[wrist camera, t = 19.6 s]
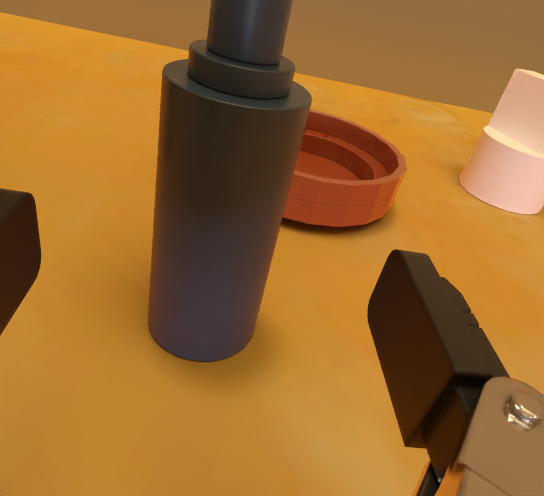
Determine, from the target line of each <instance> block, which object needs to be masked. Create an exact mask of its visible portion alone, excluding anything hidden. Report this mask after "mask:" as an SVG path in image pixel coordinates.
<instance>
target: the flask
mask: <svg viewBox="0 0 544 496" xmlns="http://www.w3.org/2000/svg"><path fill="white" fill-rule="evenodd" d="M292 1H293V0H211V8H210V18H209V27H208V36H207V40H198V41H194V42H192V43H191V44H190V47H189V58H188V59H185V60H178V61H173V62H170V63H168V64H167V65H165V66H164V68H163V71H162V88H161V105H160V122H159V139H158V156H157V173H156V191H155V208H154V225H153V242H152V259H151V277H150V294H149V311H148V325H149V329H150V332H151V334H152V336H153V337H154V339H155V340H156V341H157V342H158V344H159V345H161V346H162V347H163V348H164V349H166V350H167V351H168V352H170V353H172V354H174V355H176V356H179V357H181V358H185V359H188V360H194V361H215V360H221V359H224V358H227V357H230V356H232V355H234V354H236V353H238V352H239V351H240V350H242V349H243V348H244V347H245V346H246V345H247V344H248V342H249V341H250V340H251V337H252V335H253V332H254V328H255V324H256V320H257V316H258V312H259V308H260V304H261V300H262V296H263V292H264V288H265V284H266V280H267V276H268V272H269V268H270V265H271V261H272V257H273V253H274V249H275V245H276V241H277V237H278V233H279V229H280V225H281V221H282V217H283V213H284V209H285V205H286V201H287V197H288V193H289V189H290V185H291V181H292V177H293V173H294V169H295V165H296V161H297V157H298V153H299V149H300V145H301V141H302V137H303V133H304V129H305V125H306V122H307V118H308V114H309V110H310V106H311V102H312V97H311V95H310V93H309V92H308V91H307V90H306V89H305V88H304V87H302V86H301V85H299V84H298V83H296V82H294V81H293V76H294V72H295V65H294V64H293V62H291V61H290V60H289V59H287V58H285V57H283V56H282V51H283V46H284V41H285V36H286V31H287V26H288V21H289V16H290V11H291V6H292Z"/></svg>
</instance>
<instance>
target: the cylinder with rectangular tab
mask: <svg viewBox="0 0 544 496" xmlns="http://www.w3.org/2000/svg"><path fill="white" fill-rule="evenodd" d="M459 182H460V184H461V185H462V187H463V188H464V189H465V190H466V191H468V192H469V193H470V194H472V195H473V196H475V197H476V198H478V199H480V200H482V201H484V202H486V203H488V204H490V205H492V206H495V207H497V208H500V209H503V210H506V211H510V212H514V213H519V214H536V213H538V212H539V211H540V210H541V209H542V207H543V206H544V75H542V74H539V73H537V72H534V71H528V70H523V69H515V71H514V73H513V75H512V77H511V79H510V81H509V84H508V85H507V87H506V90H505V92H504V93H503V95H502V97H501V100H500V102H499V104H498V106H497V108H496V110H495V112H494V114H493V116H492V118H491V120H490V122H489V124H488V126H485V127H484V129H483V131H482V133H481V135H480V137H479V139H478V141H477V143H476V145H475V147H474V149H473V151H472V153H471V155H470V157H469V159H468V161H467V163H466V165H465V167H464V169H463V171H462V174H461V176H460V178H459Z"/></svg>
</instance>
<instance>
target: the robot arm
mask: <svg viewBox="0 0 544 496" xmlns="http://www.w3.org/2000/svg"><path fill="white" fill-rule="evenodd" d="M40 263H41V247H40V238H39V230H38V221H37V213H36V204H35V200H34V197H33V195H32V194H31V193H27V192H21V191H14V190H7V189H1V188H0V335H1V333H2V332H3V330H4V329H5V327H6V326H7V324H8V322H9V321H10V319H11V318H12V316H13V315H14V313H15V311H16V310H17V308H18V307H19V305H20V303H21V302H22V300H23V299H24V297H25V296H26V294H27V292H28V291H29V289H30V288H31V286H32V285H33V283H34V281H35V280H36V277H37V275H38V272H39V269H40ZM368 323H369V327H370V330H371V334H372V337H373V340H374V344H375V347H376V351H377V354H378V357H379V361H380V364H381V367H382V371H383V374H384V378H385V381H386V384H387V388H388V391H389V394H390V398H391V401H392V405H393V408H394V411H395V415H396V418H397V421H398V425H399V428H400V432H401V435H402V438H403V442H404V445H405V447H414V448H426V449H427V451H428V454H429V457H430V459H429V461H428V462H427V463H426V465H425V467H424V468H423V471H422V473H421V475H420V478H419V480H418V482H417V485H416V487H415V489H414V492H413V494H412V496H544V395H543V394H541V393H540V392H539V391H537V390H536V389H534V388H533V387H531V386H530V385H528V384H526V383H524V382H522V381H519V380H516V379H513V378H510V376H509V375H508V373H507V371H506V370H505V368H504V366H503V364H502V363H501V361H500V359H499V358H498V356H497V354H496V352H495V351H494V349H493V347H492V345H491V344H490V342H489V340H488V339H487V337H486V335H485V333H484V332H483V330H482V328H479V323H478V321H477V320H476V318H475V316H474V314H472V313H471V309H470V308H469V306H468V304H467V302H466V301H465V299H464V297H463V296H462V294H461V293H460V292H459V291H458V290H457V289H456V288H455V287H454V286H453V285H452V284H451V283H450V282H449V281H448V280H447V279H446V278H443V277H440V276H439V274H438V272H437V270H436V268H435V267H434V265H433V263H432V261H431V259H430V258H429V256H428V255H427V254H423V253H416V252H410V251H403V250H396V249H395V250H393V251H392V252H391V253H390V254H389V256H388V258H387V260H386V263H385V265H384V267H383V270H382V272H381V274H380V277H379V279H378V281H377V283H376V286H375V288H374V290H373V293H372V295H371V297H370V300H369V304H368Z"/></svg>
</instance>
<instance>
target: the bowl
mask: <svg viewBox="0 0 544 496" xmlns="http://www.w3.org/2000/svg"><path fill="white" fill-rule="evenodd" d="M406 169H407V168H406V163H405V158H404V156H403V155H402V154H401V153H400V152H399V150H398V149H397V148H396V147H395V146H394V145H393V144H391V143H390V142H388V141H387V140H385V139H384V138H383V137H381V136H380V135H378V134H376V133H374V132H372V131H370V130H368V129H366V128H364V127H362V126H360V125H358V124H356V123H354V122H351V121H348V120H345V119H342V118H340V117H337V116H334V115H331V114H327V113H323V112H319V111H315V110H311V109H310V110H309V114H308V118H307V122H306V125H305V129H304V133H303V137H302V141H301V145H300V149H299V153H298V157H297V161H296V165H295V169H294V173H293V177H292V181H291V185H290V189H289V193H288V197H287V201H286V205H285V209H284V213H283V217H284V218H288V219H292V220H295V221H299V222H303V223H307V224H315V225H325V226H335V227H344V226H354V225H364V224H368V223H370V222H372V221H375V220H377V219H379V218H382V217H384V216H385V214H386V213H387V211H388V210H389V209H390V207H391V206H392V203H393V201H394V199H395V196H396V194H397V191H398V188H399V186H400V184H401V182H402V179H403V177H404V174H405V172H406Z"/></svg>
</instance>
